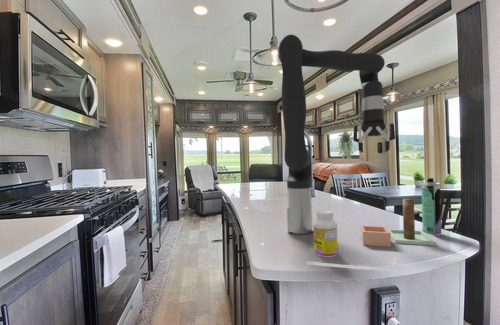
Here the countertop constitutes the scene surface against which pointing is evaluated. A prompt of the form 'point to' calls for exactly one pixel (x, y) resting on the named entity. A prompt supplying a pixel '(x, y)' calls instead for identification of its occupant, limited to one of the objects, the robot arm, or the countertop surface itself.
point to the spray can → (431, 208)
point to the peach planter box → (375, 236)
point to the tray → (419, 240)
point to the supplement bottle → (325, 234)
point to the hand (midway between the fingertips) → (373, 152)
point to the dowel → (408, 219)
